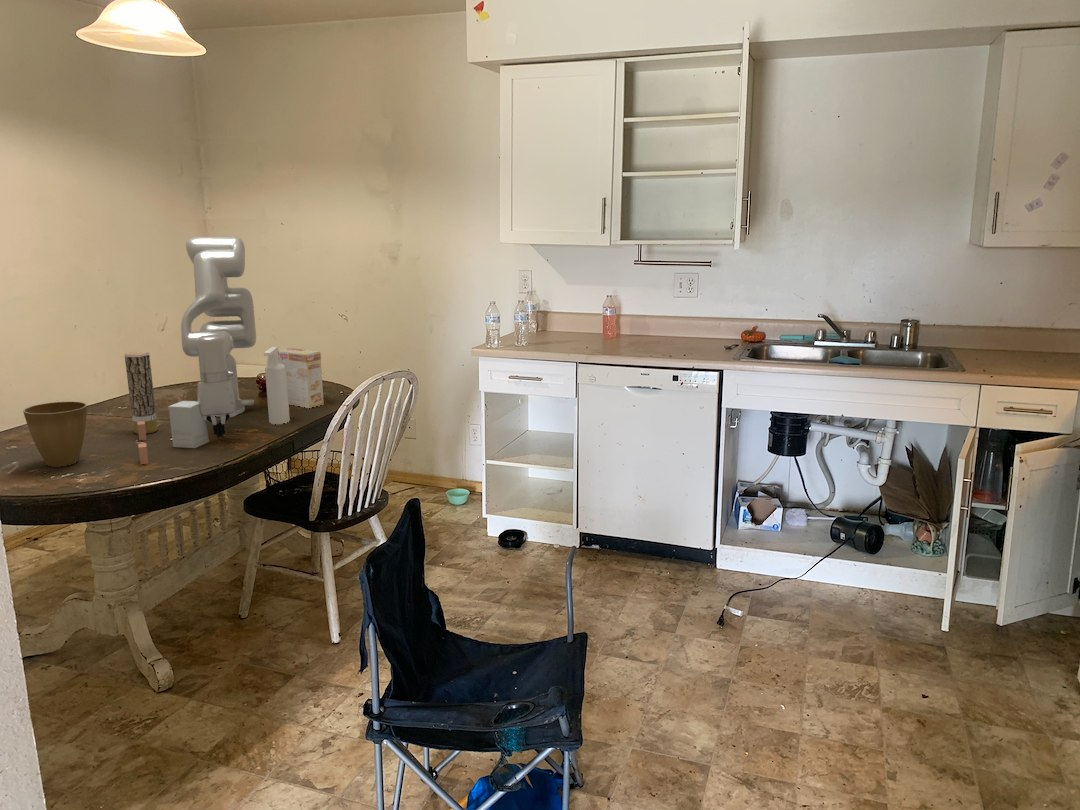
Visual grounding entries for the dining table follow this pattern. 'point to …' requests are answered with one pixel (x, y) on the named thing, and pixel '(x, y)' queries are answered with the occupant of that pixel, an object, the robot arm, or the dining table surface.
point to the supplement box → (187, 425)
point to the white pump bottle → (276, 388)
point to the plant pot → (57, 430)
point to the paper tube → (141, 390)
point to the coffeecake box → (303, 377)
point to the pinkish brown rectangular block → (142, 446)
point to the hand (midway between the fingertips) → (219, 436)
